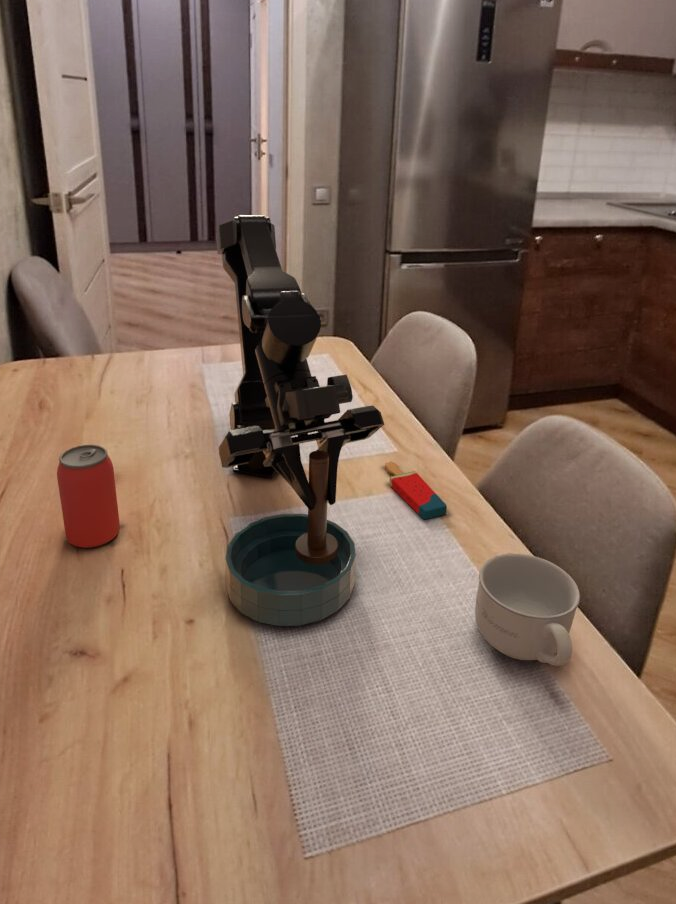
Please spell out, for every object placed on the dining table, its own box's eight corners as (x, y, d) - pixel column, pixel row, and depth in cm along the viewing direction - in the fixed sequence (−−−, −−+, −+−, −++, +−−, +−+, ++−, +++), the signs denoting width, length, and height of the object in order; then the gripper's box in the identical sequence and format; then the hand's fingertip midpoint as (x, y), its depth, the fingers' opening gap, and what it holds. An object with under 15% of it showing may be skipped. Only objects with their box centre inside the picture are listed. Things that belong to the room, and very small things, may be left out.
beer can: (131, 527, 90) (123, 448, 85) (96, 555, 84) (86, 473, 79) (91, 515, 92) (81, 438, 87) (54, 542, 86) (41, 461, 81)
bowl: (205, 615, 76) (203, 579, 74) (256, 536, 89) (255, 505, 87) (334, 642, 73) (335, 606, 71) (366, 556, 87) (368, 524, 85)
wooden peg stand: (289, 560, 77) (290, 462, 72) (302, 534, 82) (304, 441, 77) (331, 568, 76) (334, 469, 71) (342, 541, 81) (346, 447, 76)
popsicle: (401, 456, 109) (449, 505, 96) (400, 464, 109) (448, 513, 97) (376, 461, 107) (422, 512, 94) (375, 469, 107) (421, 520, 95)
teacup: (463, 604, 80) (470, 549, 77) (551, 603, 81) (561, 549, 78) (489, 703, 67) (499, 641, 64) (594, 700, 68) (608, 639, 65)
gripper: (222, 363, 69) (258, 510, 64) (381, 342, 77) (423, 470, 73) (205, 401, 78) (236, 532, 73) (349, 379, 87) (384, 495, 82)
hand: (322, 506), depth 75 cm, fingers closed on wooden peg stand, 2 cm apart
